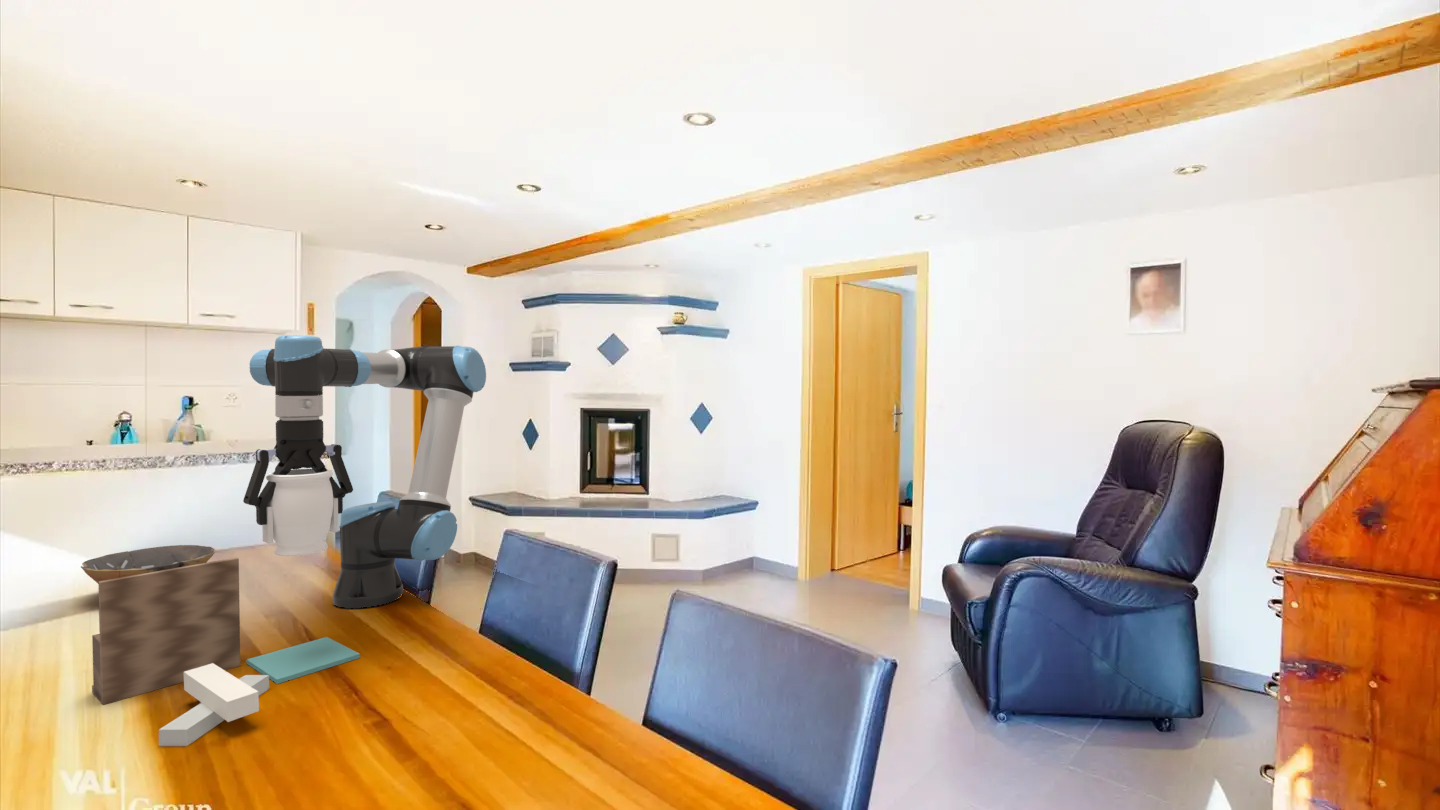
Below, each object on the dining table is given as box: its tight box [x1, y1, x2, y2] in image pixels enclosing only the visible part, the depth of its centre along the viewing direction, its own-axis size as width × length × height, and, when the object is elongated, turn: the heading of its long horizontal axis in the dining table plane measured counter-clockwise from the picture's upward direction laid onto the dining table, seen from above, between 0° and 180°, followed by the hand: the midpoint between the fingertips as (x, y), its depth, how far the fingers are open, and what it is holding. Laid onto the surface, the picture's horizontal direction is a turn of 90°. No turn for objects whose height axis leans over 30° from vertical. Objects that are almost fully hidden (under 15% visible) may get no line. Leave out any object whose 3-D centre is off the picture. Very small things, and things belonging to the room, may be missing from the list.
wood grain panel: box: [91, 557, 241, 706], centre depth 117 cm, size 19×7×20 cm, turn 144°
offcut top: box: [183, 663, 260, 723], centre depth 105 cm, size 18×4×3 cm, turn 55°
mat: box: [246, 636, 361, 685], centre depth 125 cm, size 14×14×1 cm
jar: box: [265, 468, 334, 557], centre depth 125 cm, size 11×10×15 cm
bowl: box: [80, 544, 216, 584], centre depth 163 cm, size 25×25×10 cm
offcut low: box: [158, 674, 270, 747], centre depth 105 cm, size 18×4×3 cm, turn 1°
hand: (301, 536), depth 125 cm, fingers closed on jar, 10 cm apart
